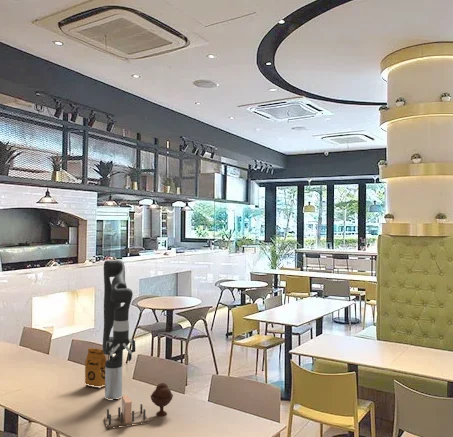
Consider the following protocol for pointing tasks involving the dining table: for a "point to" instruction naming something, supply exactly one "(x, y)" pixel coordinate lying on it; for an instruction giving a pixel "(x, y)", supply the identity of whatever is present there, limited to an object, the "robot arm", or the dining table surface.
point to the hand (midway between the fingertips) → (120, 361)
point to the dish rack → (119, 421)
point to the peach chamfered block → (126, 408)
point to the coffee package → (95, 367)
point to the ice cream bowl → (161, 398)
